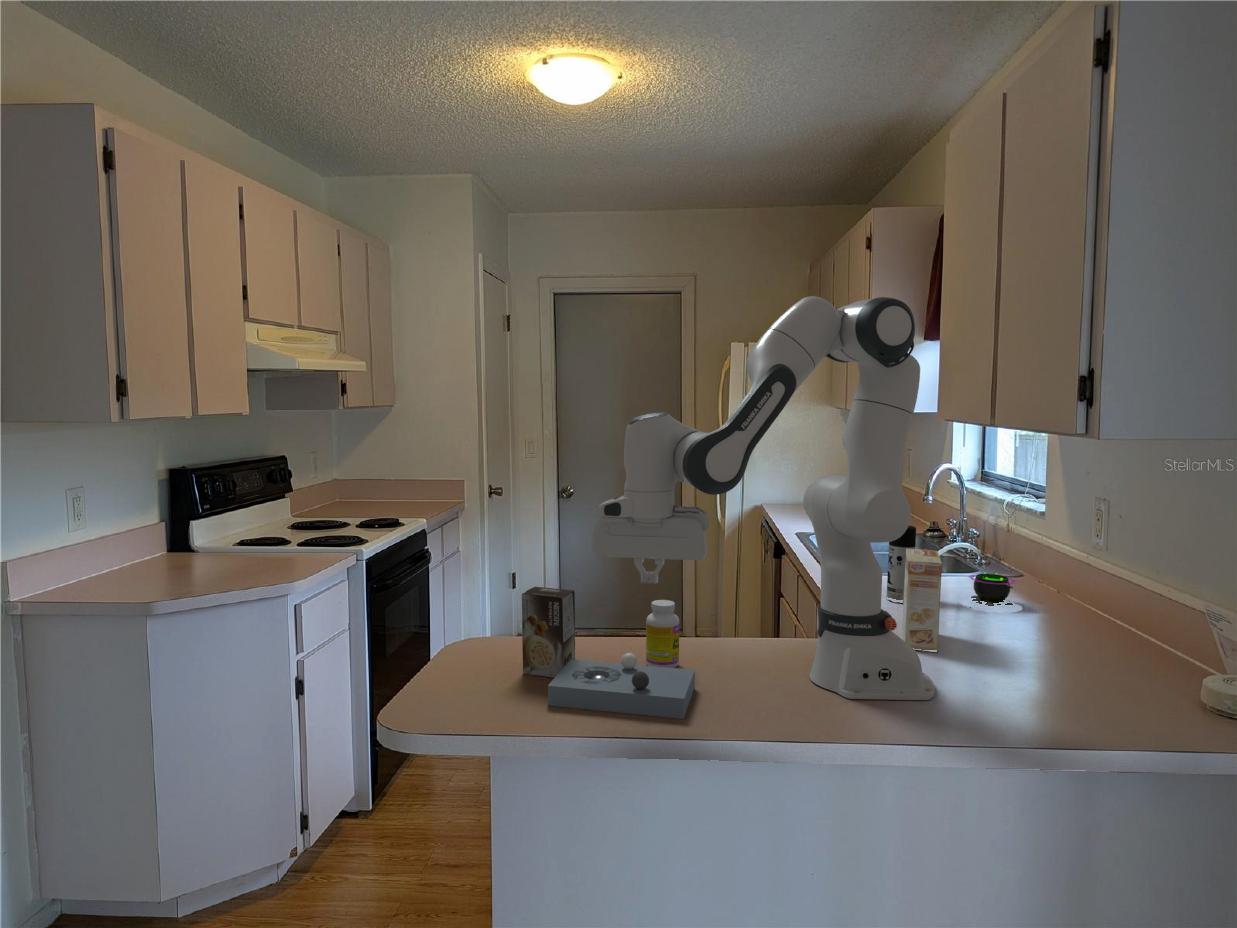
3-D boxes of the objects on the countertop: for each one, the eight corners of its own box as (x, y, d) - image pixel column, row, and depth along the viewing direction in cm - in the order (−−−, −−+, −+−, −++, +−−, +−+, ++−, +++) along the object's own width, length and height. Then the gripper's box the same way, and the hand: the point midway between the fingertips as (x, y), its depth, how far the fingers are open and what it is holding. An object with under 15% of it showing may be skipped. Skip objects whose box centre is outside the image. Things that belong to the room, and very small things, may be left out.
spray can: (884, 596, 211) (886, 523, 209) (910, 597, 210) (913, 524, 208) (889, 603, 204) (892, 528, 203) (916, 604, 204) (919, 528, 202)
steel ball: (613, 677, 142) (595, 668, 143) (608, 684, 139) (590, 675, 140) (606, 694, 143) (589, 685, 144) (601, 701, 140) (583, 693, 140)
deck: (694, 688, 145) (694, 669, 144) (683, 719, 131) (684, 698, 131) (570, 677, 150) (570, 659, 150) (547, 705, 136) (547, 685, 136)
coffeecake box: (938, 653, 165) (943, 563, 163) (903, 649, 167) (906, 560, 166) (934, 633, 179) (938, 549, 177) (901, 629, 182) (905, 547, 180)
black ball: (650, 686, 136) (650, 669, 136) (647, 692, 133) (647, 675, 133) (633, 684, 137) (633, 668, 136) (630, 691, 134) (630, 674, 134)
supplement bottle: (676, 672, 153) (677, 608, 152) (643, 669, 154) (643, 606, 153) (680, 660, 160) (681, 599, 159) (648, 658, 161) (649, 597, 160)
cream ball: (638, 666, 146) (638, 651, 145) (635, 672, 143) (635, 656, 143) (622, 665, 146) (622, 649, 146) (619, 670, 143) (619, 655, 143)
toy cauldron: (1036, 611, 198) (1039, 568, 197) (986, 615, 194) (989, 572, 193) (994, 596, 213) (996, 556, 212) (947, 599, 209) (949, 559, 208)
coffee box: (577, 669, 155) (577, 589, 153) (563, 680, 149) (563, 597, 147) (535, 663, 158) (535, 585, 156) (520, 673, 152) (520, 593, 150)
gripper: (710, 504, 138) (710, 580, 139) (598, 501, 142) (599, 575, 144) (706, 509, 132) (705, 589, 133) (589, 506, 136) (590, 584, 137)
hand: (649, 582), depth 138 cm, fingers closed
